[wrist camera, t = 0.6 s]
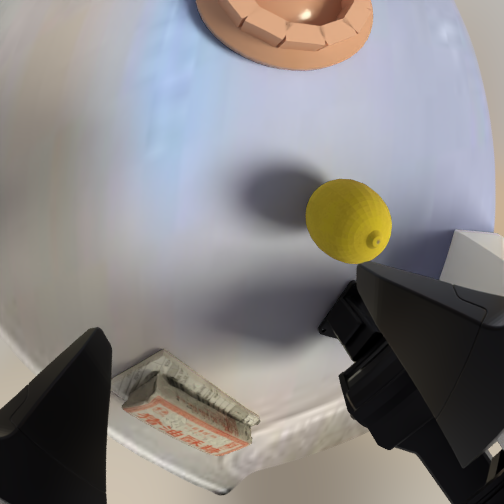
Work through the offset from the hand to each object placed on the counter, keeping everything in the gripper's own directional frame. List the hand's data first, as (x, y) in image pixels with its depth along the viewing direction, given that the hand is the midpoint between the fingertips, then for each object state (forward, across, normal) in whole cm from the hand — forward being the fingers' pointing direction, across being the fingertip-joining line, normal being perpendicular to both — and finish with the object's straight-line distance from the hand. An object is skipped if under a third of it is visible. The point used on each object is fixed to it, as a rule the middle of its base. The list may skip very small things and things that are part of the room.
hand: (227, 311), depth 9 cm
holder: (+13, -9, -16) cm, 22 cm away
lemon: (+14, -9, +2) cm, 16 cm away
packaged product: (+14, +9, +22) cm, 28 cm away
